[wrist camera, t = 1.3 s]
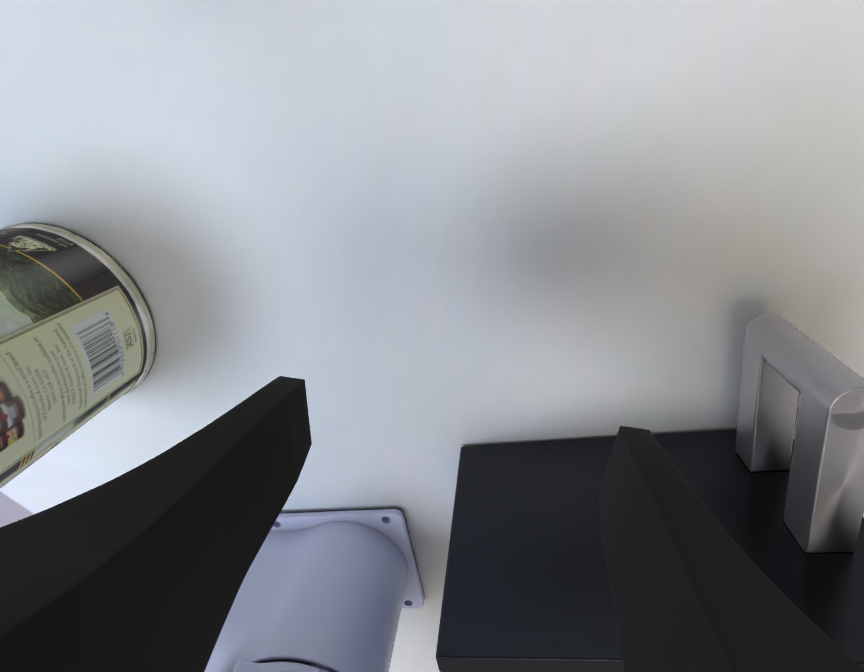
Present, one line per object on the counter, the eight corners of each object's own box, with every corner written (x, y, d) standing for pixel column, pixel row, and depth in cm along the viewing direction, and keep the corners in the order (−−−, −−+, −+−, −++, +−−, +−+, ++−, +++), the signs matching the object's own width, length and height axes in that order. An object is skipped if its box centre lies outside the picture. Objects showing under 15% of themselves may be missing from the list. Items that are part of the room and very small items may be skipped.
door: (440, 332, 24) (394, 499, 14) (799, 294, 22) (1078, 467, 11) (462, 458, 27) (439, 673, 17) (781, 439, 24) (988, 684, 14)
